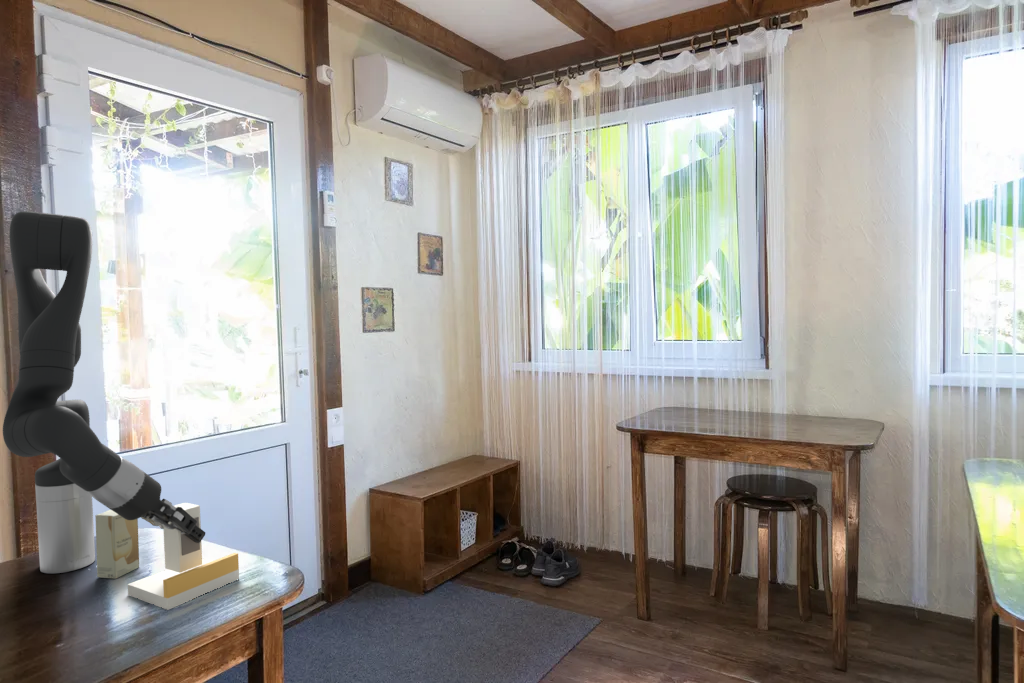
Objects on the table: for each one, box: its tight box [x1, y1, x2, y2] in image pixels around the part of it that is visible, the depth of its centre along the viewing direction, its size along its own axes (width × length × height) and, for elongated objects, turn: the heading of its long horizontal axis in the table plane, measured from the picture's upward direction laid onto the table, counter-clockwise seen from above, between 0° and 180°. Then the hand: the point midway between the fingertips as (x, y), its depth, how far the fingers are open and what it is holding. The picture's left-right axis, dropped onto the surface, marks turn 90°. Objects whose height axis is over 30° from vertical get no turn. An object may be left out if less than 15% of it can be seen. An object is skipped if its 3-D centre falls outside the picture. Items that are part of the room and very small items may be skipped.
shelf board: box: [127, 552, 240, 611], centre depth 120 cm, size 12×14×5 cm
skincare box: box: [95, 509, 140, 579], centre depth 127 cm, size 6×4×12 cm
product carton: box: [162, 502, 203, 573], centre depth 120 cm, size 5×4×11 cm
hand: (192, 535), depth 121 cm, fingers closed on product carton, 4 cm apart
